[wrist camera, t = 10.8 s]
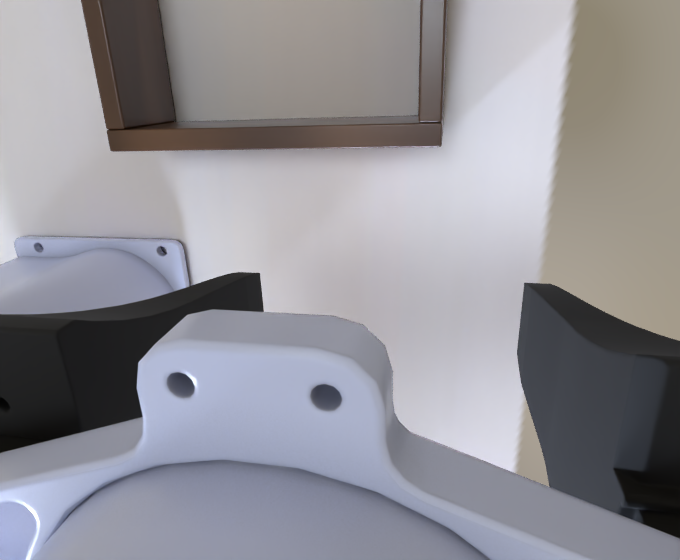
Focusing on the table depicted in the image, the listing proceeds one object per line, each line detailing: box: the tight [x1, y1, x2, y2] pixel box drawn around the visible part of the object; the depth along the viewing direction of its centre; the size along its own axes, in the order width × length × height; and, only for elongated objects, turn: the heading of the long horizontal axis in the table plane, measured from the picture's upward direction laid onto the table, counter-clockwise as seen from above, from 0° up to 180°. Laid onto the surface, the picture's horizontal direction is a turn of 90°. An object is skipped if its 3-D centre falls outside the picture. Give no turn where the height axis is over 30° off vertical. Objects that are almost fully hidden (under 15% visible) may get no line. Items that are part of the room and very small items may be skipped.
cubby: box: [81, 0, 447, 151], centre depth 18 cm, size 13×10×4 cm
